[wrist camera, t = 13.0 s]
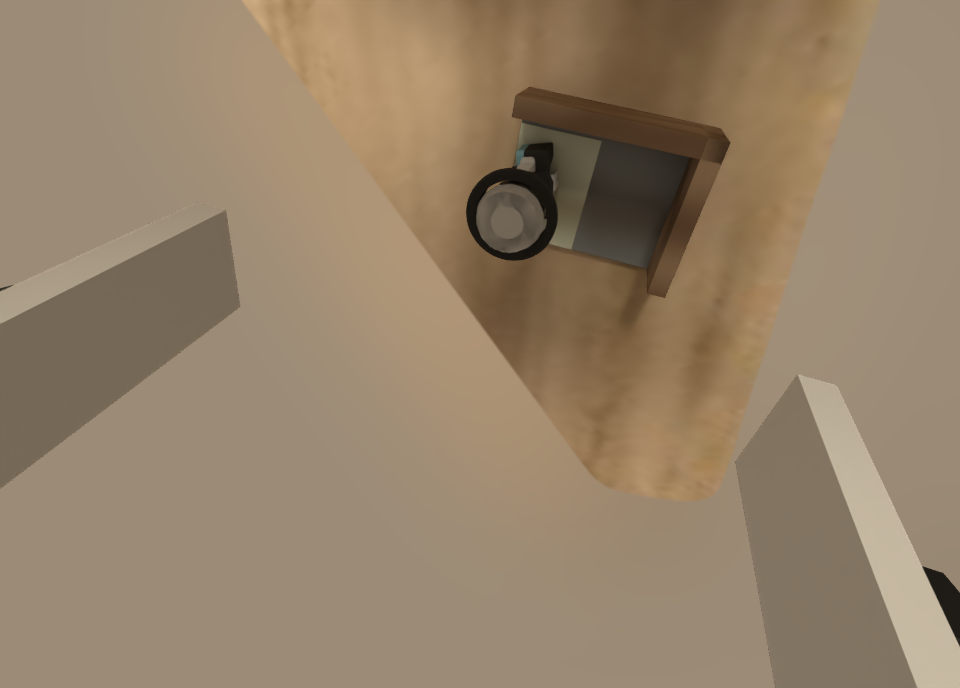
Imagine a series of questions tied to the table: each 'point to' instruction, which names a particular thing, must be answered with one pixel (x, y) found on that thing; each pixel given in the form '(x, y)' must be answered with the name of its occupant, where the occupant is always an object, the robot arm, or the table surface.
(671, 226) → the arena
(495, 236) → the push button
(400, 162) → the table surface
